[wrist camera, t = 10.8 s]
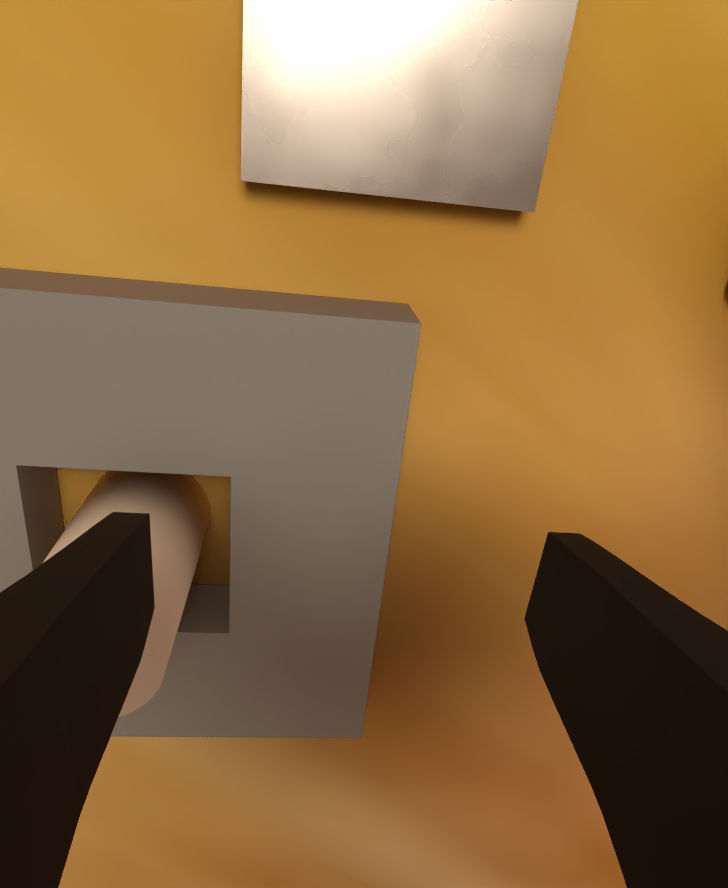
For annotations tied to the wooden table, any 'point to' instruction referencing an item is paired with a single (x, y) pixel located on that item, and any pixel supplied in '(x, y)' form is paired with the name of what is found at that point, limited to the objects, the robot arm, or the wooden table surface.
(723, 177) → the wooden table surface
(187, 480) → the peg
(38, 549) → the hole plate
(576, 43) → the wooden table surface
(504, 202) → the square grey metal plate
